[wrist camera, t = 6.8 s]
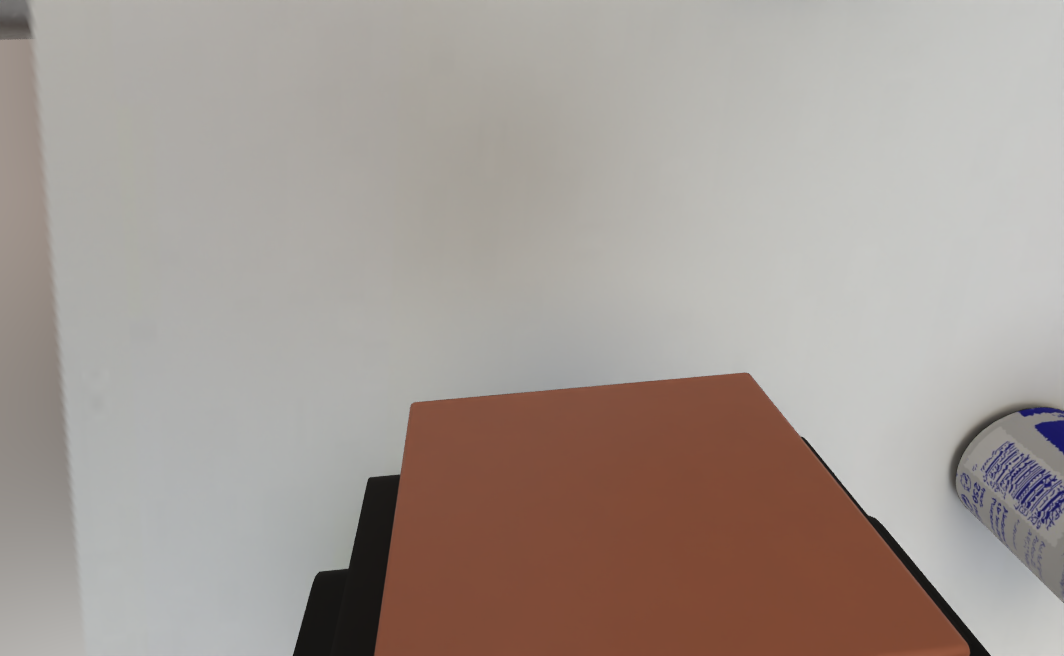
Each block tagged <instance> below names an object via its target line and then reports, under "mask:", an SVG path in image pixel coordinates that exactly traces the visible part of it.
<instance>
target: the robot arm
mask: <svg viewBox="0 0 1064 656" xmlns="http://www.w3.org/2000/svg"><path fill="white" fill-rule="evenodd" d="M801 438H802V439H803V441H804V442H805V443H806V444H807V446H808V447H809V448H810V449H811V451H812V452H813V453H814V454H815V456H816V457H817V458H818V459H819V460H820V462H821V463H822V464H823V465H824V467H825V468H826V469H827V470H828V472H829V473H830V474H831V475H832V477H833V478H834V479H835V480H836V481H837V483H838V484H839V485H840V486H841V488H842V489H843V490H844V491H845V493H846V494H847V495H848V496H849V498H850V499H851V500H852V501H853V503H854V504H855V505H856V506H857V507H858V509H859V510H860V511H861V512H862V514H863V515H864V516H865V517H866V519H867V520H868V521H869V522H870V524H871V525H872V526H873V527H874V529H875V530H876V531H877V532H878V533H879V535H880V536H881V537H882V538H883V540H884V541H885V542H886V543H887V545H888V546H889V547H890V548H891V550H892V551H893V552H894V553H895V554H896V556H897V557H898V558H899V559H900V561H901V562H902V563H903V564H904V566H905V567H906V568H907V569H908V571H909V572H910V573H911V574H912V576H913V577H914V578H915V579H916V580H917V582H918V583H919V584H920V585H921V587H922V588H923V589H924V590H925V592H926V593H927V594H928V595H929V597H930V598H931V599H932V600H933V602H934V603H935V604H936V605H937V606H938V608H939V609H940V610H941V611H942V613H943V614H944V615H945V616H946V618H947V619H948V620H949V621H950V623H951V624H952V625H953V626H954V627H955V629H956V630H957V631H958V632H959V634H960V635H961V636H962V637H963V639H964V640H965V641H966V642H967V644H968V646H969V649H970V655H969V656H991V655H990V654H989V653H988V652H987V650H986V649H985V648H984V647H983V646H982V644H981V643H980V642H979V641H978V640H977V638H976V637H975V636H974V635H973V634H972V632H971V631H970V630H969V629H968V627H967V626H966V625H965V624H964V623H963V621H962V620H961V619H960V618H959V617H958V615H957V614H956V613H955V612H954V611H953V609H952V608H951V607H950V606H949V605H948V603H947V602H946V601H945V600H944V598H943V597H942V596H941V595H940V594H939V592H938V591H937V590H936V589H935V588H934V586H933V585H932V584H931V583H930V582H929V580H928V579H927V578H926V577H925V576H924V574H923V573H922V572H921V571H920V570H919V568H918V567H917V566H916V565H915V563H914V562H913V561H912V560H911V559H910V557H909V556H908V555H907V554H906V553H905V551H904V550H903V549H902V548H901V547H900V545H899V544H898V543H897V542H896V541H895V539H894V538H893V537H892V536H891V534H890V533H889V532H888V531H887V530H886V528H885V527H884V526H883V525H882V524H881V523H880V522H879V521H878V520H877V519H876V518H873V517H871V516H868V515H867V514H866V513H865V511H864V510H863V509H862V508H861V506H860V505H859V504H858V503H857V501H856V500H855V499H854V498H853V497H852V495H851V494H850V493H849V492H848V490H847V489H846V488H845V487H844V486H843V484H842V483H841V482H840V481H839V479H838V478H837V477H836V476H835V474H834V473H833V472H832V471H831V470H830V468H829V467H828V466H827V465H826V463H825V462H824V461H823V460H822V459H821V457H820V456H819V455H818V454H817V452H816V451H815V450H814V449H813V447H812V446H811V445H810V444H809V443H808V441H807V440H806V439H805V438H803V437H801ZM400 475H401V474H400ZM400 475H390V476H379V477H370V478H369V479H368V482H367V486H366V490H365V495H364V500H363V504H362V509H361V514H360V518H359V523H358V528H357V532H356V537H355V541H354V546H353V551H352V555H351V560H350V565H349V569H342V570H332V571H323V572H319V573H318V574H317V575H316V576H315V579H314V582H313V584H312V588H311V592H310V595H309V599H308V602H307V606H306V610H305V613H304V617H303V621H302V624H301V628H300V632H299V635H298V639H297V643H296V646H295V650H294V654H293V656H374V653H375V647H376V640H377V633H378V626H379V619H380V612H381V605H382V598H383V592H384V585H385V578H386V571H387V564H388V557H389V550H390V543H391V537H392V530H393V523H394V516H395V509H396V502H397V495H398V488H399V482H400Z"/></svg>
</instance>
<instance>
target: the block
mask: <svg viewBox="0 0 1064 656" xmlns="http://www.w3.org/2000/svg"><path fill="white" fill-rule="evenodd" d="M969 655H970V649H969V646H968V644H967V642H966V641H965V640H964V639H963V637H962V636H961V635H960V634H959V632H958V631H957V630H956V629H955V627H954V626H953V625H952V624H951V623H950V621H949V620H948V619H947V618H946V616H945V615H944V614H943V613H942V611H941V610H940V609H939V608H938V606H937V605H936V604H935V603H934V602H933V600H932V599H931V598H930V597H929V595H928V594H927V593H926V592H925V590H924V589H923V588H922V587H921V585H920V584H919V583H918V582H917V580H916V579H915V578H914V577H913V576H912V574H911V573H910V572H909V571H908V569H907V568H906V567H905V566H904V564H903V563H902V562H901V561H900V559H899V558H898V557H897V556H896V554H895V553H894V552H893V551H892V550H891V548H890V547H889V546H888V545H887V543H886V542H885V541H884V540H883V538H882V537H881V536H880V535H879V533H878V532H877V531H876V530H875V529H874V527H873V526H872V525H871V524H870V522H869V521H868V520H867V519H866V517H865V516H864V515H863V514H862V512H861V511H860V510H859V509H858V507H857V506H856V505H855V504H854V503H853V501H852V500H851V499H850V498H849V496H848V495H847V494H846V493H845V491H844V490H843V489H842V488H841V486H840V485H839V484H838V483H837V481H836V480H835V479H834V478H833V477H832V475H831V474H830V473H829V472H828V470H827V469H826V468H825V467H824V465H823V464H822V463H821V462H820V460H819V459H818V458H817V457H816V456H815V454H814V453H813V452H812V451H811V449H810V448H809V447H808V446H807V444H806V443H805V442H804V441H803V439H802V438H801V437H800V436H799V434H798V433H797V432H796V431H795V430H794V428H793V427H792V426H791V425H790V423H789V422H788V421H787V420H786V418H785V417H784V416H783V415H782V413H781V412H780V411H779V410H778V408H777V407H776V406H775V405H774V404H773V402H772V401H771V400H770V399H769V397H768V396H767V395H766V394H765V392H764V391H763V390H762V389H761V387H760V386H759V385H758V384H757V382H756V381H755V380H754V379H753V378H752V376H751V375H750V374H749V373H735V374H724V375H713V376H702V377H691V378H680V379H669V380H658V381H646V382H635V383H624V384H613V385H602V386H591V387H580V388H569V389H557V390H546V391H535V392H524V393H513V394H502V395H491V396H480V397H468V398H457V399H446V400H435V401H424V402H415V403H412V404H411V407H410V413H409V420H408V427H407V433H406V440H405V447H404V454H403V461H402V468H401V475H400V482H399V488H398V495H397V502H396V509H395V516H394V523H393V530H392V537H391V543H390V550H389V557H388V564H387V571H386V578H385V585H384V592H383V598H382V605H381V612H380V619H379V626H378V633H377V640H376V647H375V653H374V656H969Z"/></svg>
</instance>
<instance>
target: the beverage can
mask: <svg viewBox="0 0 1064 656" xmlns="http://www.w3.org/2000/svg"><path fill="white" fill-rule="evenodd" d="M956 489H957V493H958V496H959V498H960V500H961V502H962V503H963V504H964V505H965V507H966V508H967V509H969V510H970V511H971V512H972V513H973V514H974V515H975V516H976V517H977V518H978V519H979V520H980V521H981V522H982V523H983V524H984V525H985V526H986V527H987V528H988V529H989V530H990V531H991V532H992V533H993V534H994V535H995V536H996V537H997V538H998V539H999V540H1000V541H1001V542H1002V543H1003V544H1004V545H1005V546H1006V547H1007V548H1008V549H1009V550H1010V551H1011V552H1012V553H1013V554H1014V555H1015V556H1016V557H1017V558H1018V559H1019V560H1020V561H1022V562H1023V563H1024V564H1025V565H1026V566H1027V567H1028V568H1029V569H1030V570H1031V571H1032V572H1033V573H1034V574H1035V575H1036V576H1037V577H1038V578H1039V579H1040V580H1041V581H1042V582H1043V583H1044V584H1045V585H1046V586H1047V587H1048V588H1049V589H1050V590H1051V591H1052V592H1053V593H1054V594H1055V595H1056V596H1057V597H1058V598H1059V599H1060V600H1061V601H1062V602H1063V603H1064V411H1062V410H1059V409H1055V408H1047V407H1040V408H1031V409H1025V410H1022V411H1018V412H1015V413H1012V414H1010V415H1007V416H1005V417H1003V418H1001V419H999V420H997V421H995V422H994V423H992V424H991V425H990V426H988V427H987V428H986V429H984V430H983V431H982V432H980V433H979V434H978V435H977V436H976V437H975V438H974V439H973V441H972V442H971V443H970V444H969V446H968V447H967V449H966V450H965V452H964V454H963V456H962V458H961V460H960V462H959V466H958V469H957V474H956Z"/></svg>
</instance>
